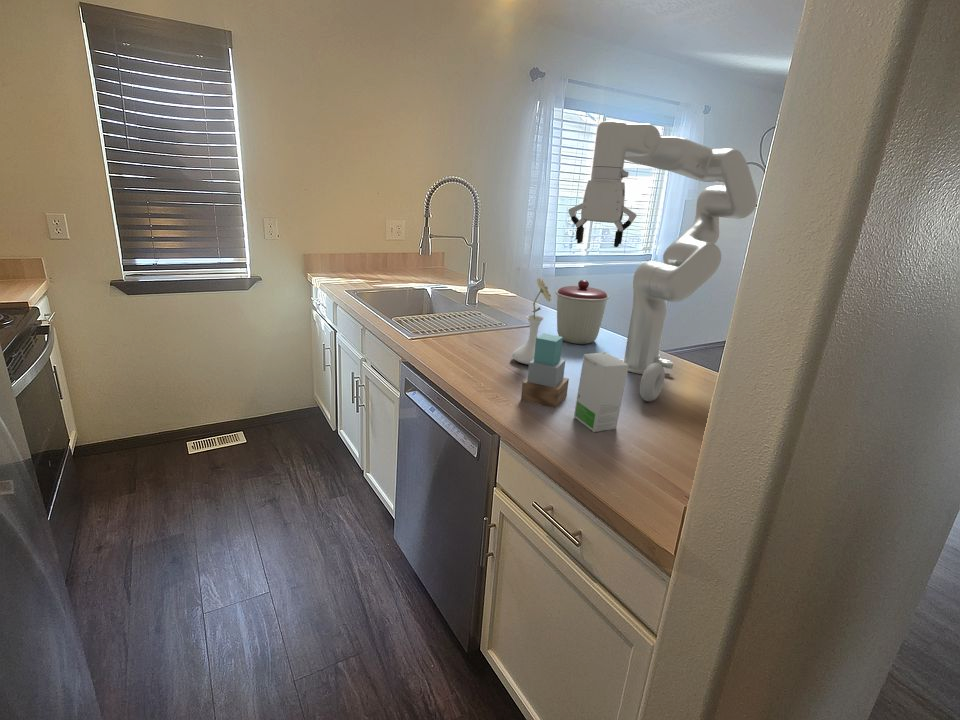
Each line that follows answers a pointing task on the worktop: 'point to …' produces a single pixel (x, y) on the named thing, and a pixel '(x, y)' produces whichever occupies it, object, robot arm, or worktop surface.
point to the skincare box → (600, 391)
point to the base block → (544, 393)
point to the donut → (652, 382)
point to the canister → (580, 312)
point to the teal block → (548, 349)
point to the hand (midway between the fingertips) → (597, 244)
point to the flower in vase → (532, 330)
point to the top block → (546, 373)
